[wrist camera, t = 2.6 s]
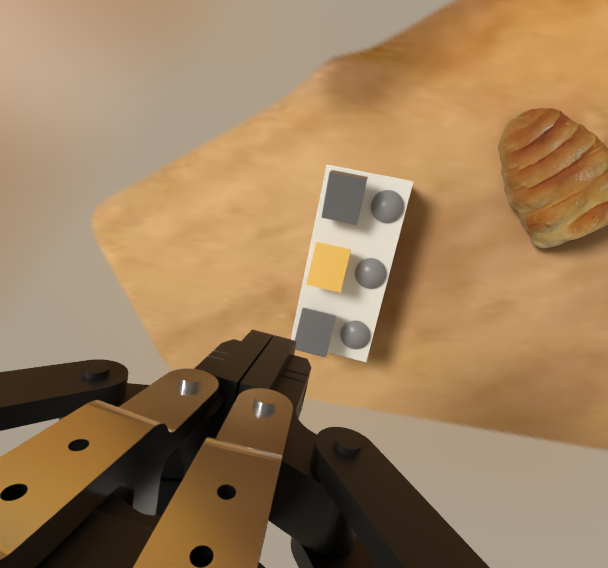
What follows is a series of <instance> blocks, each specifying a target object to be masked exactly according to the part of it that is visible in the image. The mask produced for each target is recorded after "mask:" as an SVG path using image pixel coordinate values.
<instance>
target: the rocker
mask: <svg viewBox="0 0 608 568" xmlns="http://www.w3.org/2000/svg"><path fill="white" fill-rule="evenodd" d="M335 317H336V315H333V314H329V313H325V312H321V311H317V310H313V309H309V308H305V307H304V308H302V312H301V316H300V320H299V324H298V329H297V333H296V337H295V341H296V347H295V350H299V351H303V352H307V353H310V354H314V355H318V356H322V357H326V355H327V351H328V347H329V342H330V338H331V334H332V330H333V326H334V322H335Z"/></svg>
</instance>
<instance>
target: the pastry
mask: <svg viewBox="0 0 608 568" xmlns="http://www.w3.org/2000/svg"><path fill="white" fill-rule="evenodd" d="M498 149H499V153H500V160H501V163H502V171H501V174H502V176H503V179H504V182H505V192H506V193H507V197H508V202H509V204H510V206H511V207H512V208H514V209H515V210H516V211H517V212H518V216H519V218H520V220H521V223H522V225H523V226H524V228H525V229H526V230H527V231H528V233H529V234H530V238H531V241H532V243H533V245H535V246H536V247H538V248H549V247H554V246H558V245H561V244H563V243H565V242H567V241H570V240H575V239H578V238H581V237H583V236H585V235H587V234H590V233H592V232H595V231H596V230H598V229H601V228H603V227H605V226H607V225H608V148H607V147H606V146H605V144H604V143H602V142H601V141H600V140H599V139H598V138H597V136H596V135H595V134H594V133H592V132H590V131H588V130H587V129H586V128H585V127H584V126H583V125H580V124H577V123H575V122H574V121H572V120H571V119H569V118H568V117H567V116H565V115H564V114H563V113H562V112H561V111H559V110H556V109H552V108H548V109H544V108H539V109H531V110H529V111H526V112H524V113H522V114H520V115H519V116H517V117H516V118H514V119H513V120H511V121H510V122H509V123H508V124H507V126H506V128H505V130H504V133H503V135H502V138H501V140H500V142H499V145H498Z"/></svg>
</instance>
